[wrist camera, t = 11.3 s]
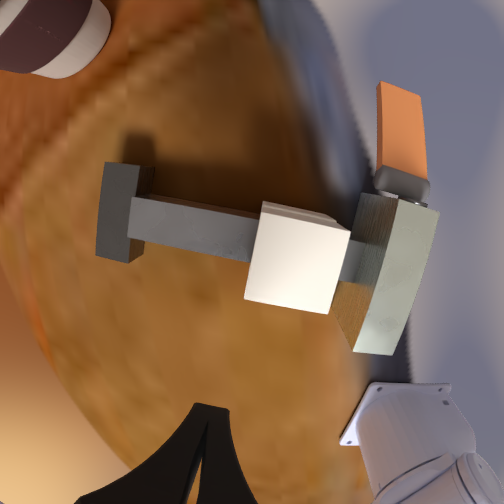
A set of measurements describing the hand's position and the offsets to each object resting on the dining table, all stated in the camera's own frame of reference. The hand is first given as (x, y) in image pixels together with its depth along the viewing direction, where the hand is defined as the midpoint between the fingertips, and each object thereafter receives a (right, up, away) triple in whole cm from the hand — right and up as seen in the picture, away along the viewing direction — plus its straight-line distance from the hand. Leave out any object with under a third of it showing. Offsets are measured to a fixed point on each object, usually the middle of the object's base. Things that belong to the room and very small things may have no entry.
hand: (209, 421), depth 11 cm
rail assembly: (+2, +8, +9) cm, 12 cm away
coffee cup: (-13, +24, +6) cm, 28 cm away
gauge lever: (+11, +13, +5) cm, 18 cm away
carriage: (+4, +8, +9) cm, 12 cm away
